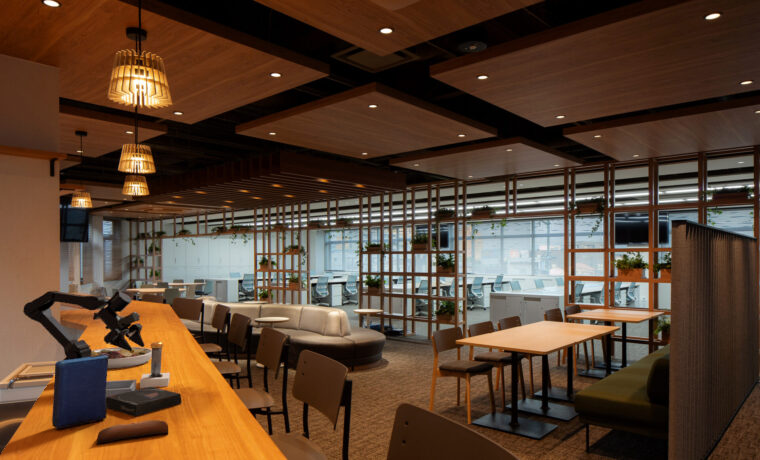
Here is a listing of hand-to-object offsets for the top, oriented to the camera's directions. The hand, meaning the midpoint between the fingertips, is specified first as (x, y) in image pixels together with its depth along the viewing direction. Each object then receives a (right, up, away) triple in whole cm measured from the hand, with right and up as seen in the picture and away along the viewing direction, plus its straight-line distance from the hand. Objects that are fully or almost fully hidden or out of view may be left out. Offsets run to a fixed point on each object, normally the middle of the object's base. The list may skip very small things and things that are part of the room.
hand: (137, 348), depth 198 cm
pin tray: (0, -13, -18) cm, 22 cm away
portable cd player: (+17, -13, -30) cm, 37 cm away
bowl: (-27, -16, +35) cm, 47 cm away
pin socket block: (+8, -14, -1) cm, 16 cm away
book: (+7, -11, -49) cm, 51 cm away
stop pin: (+8, -14, -1) cm, 16 cm away
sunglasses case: (+27, -12, -58) cm, 65 cm away
